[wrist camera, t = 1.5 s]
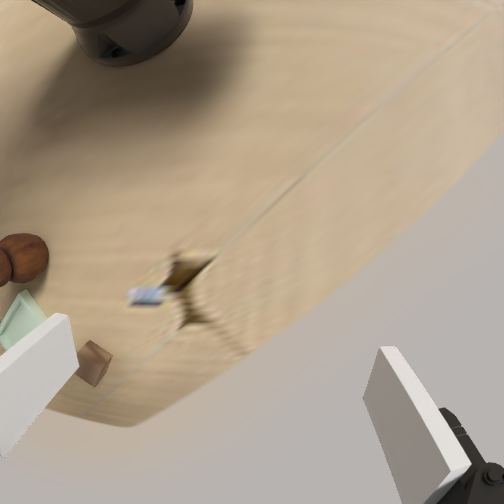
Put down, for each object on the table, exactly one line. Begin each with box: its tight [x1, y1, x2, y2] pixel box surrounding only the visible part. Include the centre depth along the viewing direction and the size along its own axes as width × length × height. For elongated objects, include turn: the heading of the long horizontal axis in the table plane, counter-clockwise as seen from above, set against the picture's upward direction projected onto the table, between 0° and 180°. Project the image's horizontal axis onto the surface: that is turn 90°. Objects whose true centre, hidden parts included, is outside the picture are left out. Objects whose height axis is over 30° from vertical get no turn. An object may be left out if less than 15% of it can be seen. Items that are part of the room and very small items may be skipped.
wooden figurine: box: [0, 233, 48, 287], centre depth 27 cm, size 7×6×15 cm
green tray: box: [0, 289, 77, 354], centre depth 37 cm, size 14×14×2 cm
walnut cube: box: [74, 340, 112, 387], centre depth 36 cm, size 4×4×4 cm
